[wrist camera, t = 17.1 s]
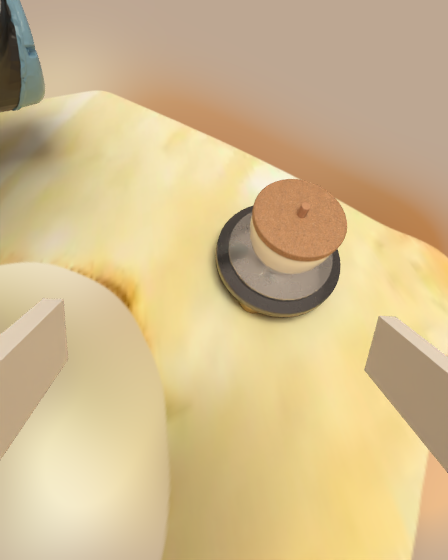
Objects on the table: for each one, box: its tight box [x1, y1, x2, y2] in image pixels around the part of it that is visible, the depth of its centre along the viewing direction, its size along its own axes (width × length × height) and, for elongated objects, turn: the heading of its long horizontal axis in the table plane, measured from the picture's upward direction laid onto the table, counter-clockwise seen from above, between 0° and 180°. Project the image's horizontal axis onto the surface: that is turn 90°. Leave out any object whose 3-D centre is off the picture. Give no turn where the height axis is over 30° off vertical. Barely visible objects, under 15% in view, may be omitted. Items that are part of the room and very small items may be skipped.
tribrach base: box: [216, 206, 340, 317], centre depth 45 cm, size 17×17×5 cm
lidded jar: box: [250, 179, 347, 274], centre depth 39 cm, size 11×11×9 cm
